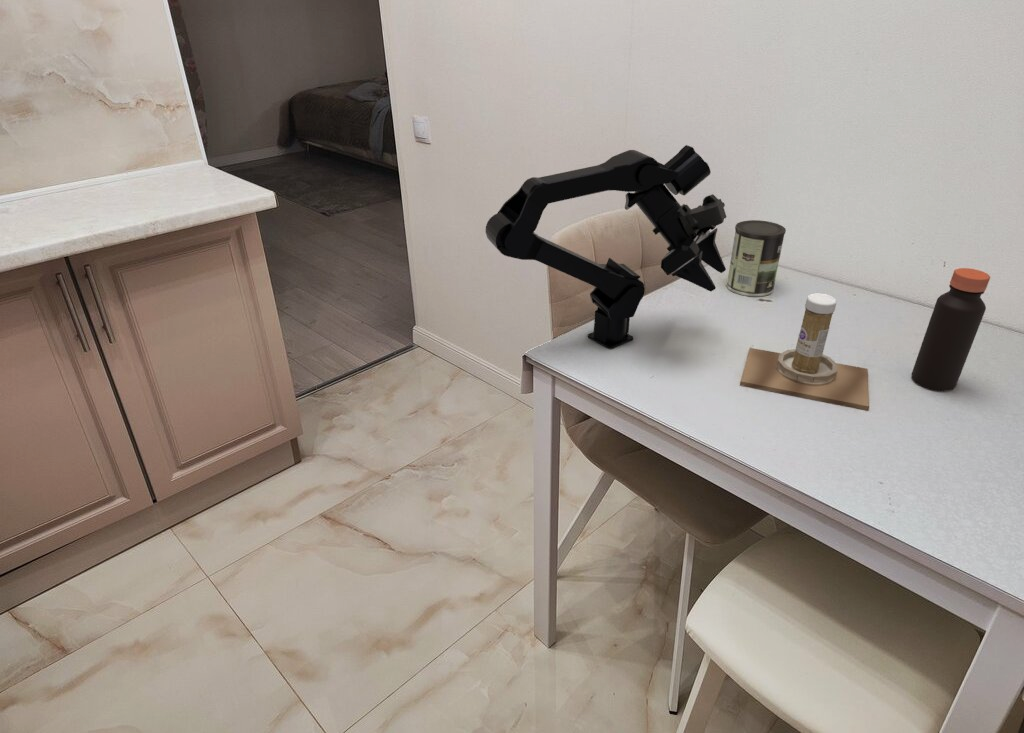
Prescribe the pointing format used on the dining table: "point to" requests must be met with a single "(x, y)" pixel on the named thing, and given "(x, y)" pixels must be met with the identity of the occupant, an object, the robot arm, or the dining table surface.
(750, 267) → the coffee can
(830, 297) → the sprinkles bottle
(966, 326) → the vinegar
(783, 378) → the dish board
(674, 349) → the dining table surface
